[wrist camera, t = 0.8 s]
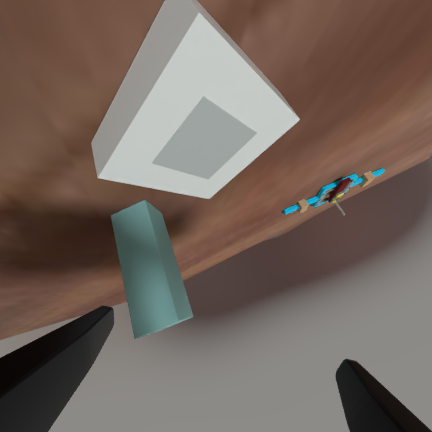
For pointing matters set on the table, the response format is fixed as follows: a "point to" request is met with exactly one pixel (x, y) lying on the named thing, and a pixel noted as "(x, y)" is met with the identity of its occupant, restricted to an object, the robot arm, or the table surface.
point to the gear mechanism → (334, 191)
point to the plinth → (188, 109)
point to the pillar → (149, 270)
